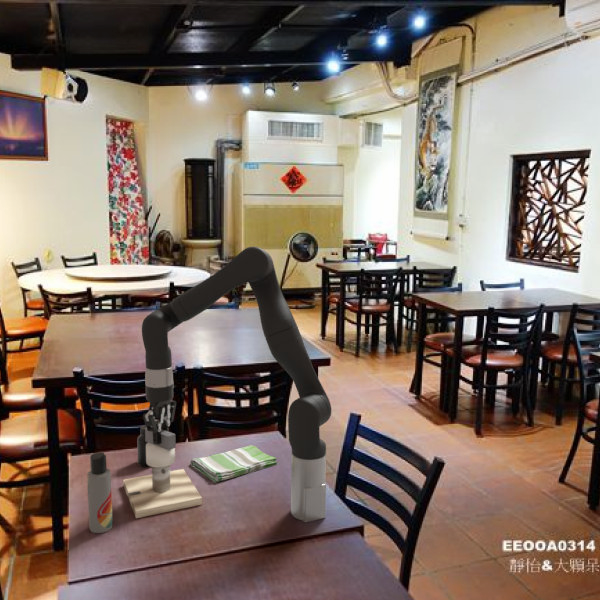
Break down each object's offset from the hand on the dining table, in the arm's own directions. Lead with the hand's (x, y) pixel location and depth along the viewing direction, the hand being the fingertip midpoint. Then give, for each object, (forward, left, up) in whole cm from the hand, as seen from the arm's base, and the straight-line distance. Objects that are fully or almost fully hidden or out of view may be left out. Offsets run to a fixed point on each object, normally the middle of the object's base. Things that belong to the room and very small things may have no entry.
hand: (161, 441), depth 167 cm
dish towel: (+11, -25, -17) cm, 33 cm away
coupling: (0, 0, -6) cm, 6 cm away
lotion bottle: (-11, +18, -17) cm, 27 cm away
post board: (0, 0, -16) cm, 16 cm away
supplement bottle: (+23, -1, -17) cm, 29 cm away
